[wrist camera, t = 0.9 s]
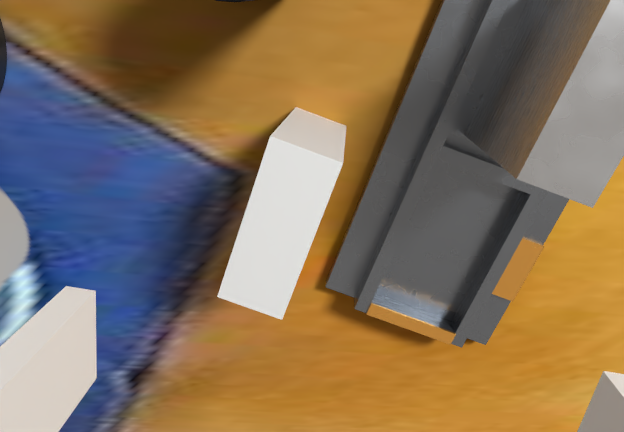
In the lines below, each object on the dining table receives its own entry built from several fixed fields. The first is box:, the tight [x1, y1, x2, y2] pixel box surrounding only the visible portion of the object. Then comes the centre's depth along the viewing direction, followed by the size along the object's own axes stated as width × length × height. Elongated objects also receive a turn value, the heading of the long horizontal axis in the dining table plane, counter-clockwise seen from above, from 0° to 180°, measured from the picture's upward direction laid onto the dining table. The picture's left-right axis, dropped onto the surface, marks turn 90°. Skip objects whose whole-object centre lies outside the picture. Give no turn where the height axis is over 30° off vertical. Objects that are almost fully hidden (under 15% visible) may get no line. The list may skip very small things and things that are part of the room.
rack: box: [325, 0, 624, 347], centre depth 31 cm, size 14×27×13 cm, turn 160°
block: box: [217, 107, 346, 320], centre depth 33 cm, size 4×10×12 cm, turn 160°
